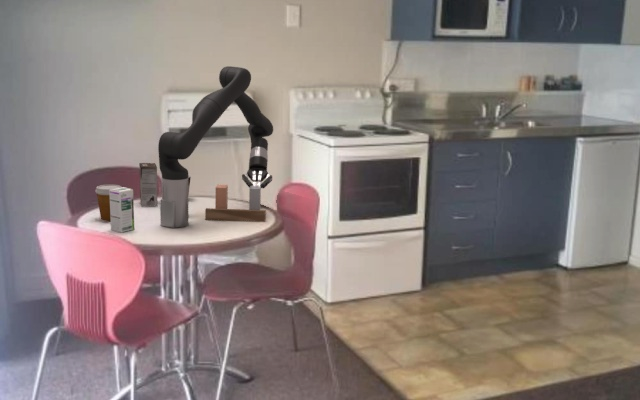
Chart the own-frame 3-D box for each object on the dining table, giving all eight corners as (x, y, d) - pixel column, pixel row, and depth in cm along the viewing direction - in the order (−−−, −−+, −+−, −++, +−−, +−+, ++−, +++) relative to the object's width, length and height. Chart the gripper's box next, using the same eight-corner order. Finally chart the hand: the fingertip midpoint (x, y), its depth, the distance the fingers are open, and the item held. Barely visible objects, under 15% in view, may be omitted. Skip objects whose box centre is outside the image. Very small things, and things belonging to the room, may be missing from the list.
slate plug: (250, 210, 266) (250, 185, 264) (260, 210, 266) (260, 185, 264) (249, 213, 260) (249, 188, 258) (259, 214, 261) (259, 189, 258)
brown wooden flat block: (209, 212, 262) (209, 202, 261) (266, 213, 263) (266, 204, 262) (205, 219, 250) (205, 209, 249) (264, 221, 251) (264, 211, 250)
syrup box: (121, 232, 229) (120, 191, 226) (110, 229, 232) (109, 188, 229) (134, 229, 234) (133, 188, 230) (123, 226, 237) (122, 186, 234)
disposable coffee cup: (126, 216, 251) (126, 184, 248) (118, 222, 242) (117, 190, 239) (101, 215, 251) (100, 183, 248) (92, 221, 242) (91, 189, 239)
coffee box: (139, 201, 274) (139, 162, 271) (156, 201, 276) (155, 162, 273) (141, 207, 266) (140, 166, 262) (157, 206, 268) (157, 166, 264)
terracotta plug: (217, 209, 266) (217, 184, 264) (227, 209, 266) (227, 184, 264) (215, 212, 260) (215, 187, 258) (225, 213, 260) (226, 187, 258)
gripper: (241, 154, 275) (238, 190, 266) (274, 155, 275) (272, 191, 266) (242, 165, 281) (239, 200, 272) (274, 166, 282) (272, 201, 272)
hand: (256, 195), depth 269 cm, fingers closed
